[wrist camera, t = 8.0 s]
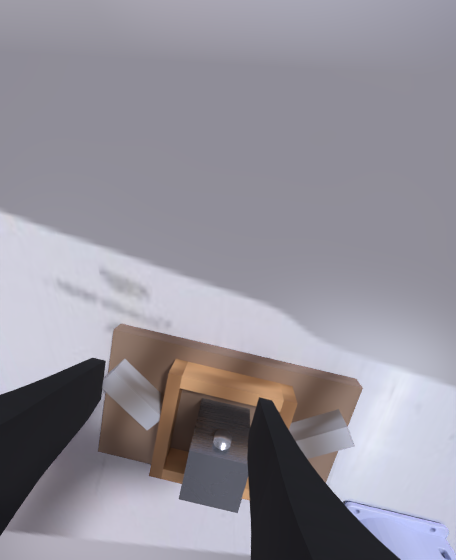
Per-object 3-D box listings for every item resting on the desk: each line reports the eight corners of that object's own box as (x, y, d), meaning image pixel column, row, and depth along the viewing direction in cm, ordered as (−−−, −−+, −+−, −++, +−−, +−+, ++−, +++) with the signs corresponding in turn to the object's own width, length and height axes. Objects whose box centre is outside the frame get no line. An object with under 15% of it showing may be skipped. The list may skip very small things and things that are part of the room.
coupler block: (250, 404, 21) (252, 460, 16) (238, 452, 22) (236, 517, 17) (203, 393, 21) (190, 445, 16) (192, 441, 22) (177, 503, 17)
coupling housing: (356, 378, 21) (375, 405, 18) (313, 490, 24) (324, 530, 21) (120, 323, 21) (99, 340, 18) (105, 440, 24) (84, 472, 21)
